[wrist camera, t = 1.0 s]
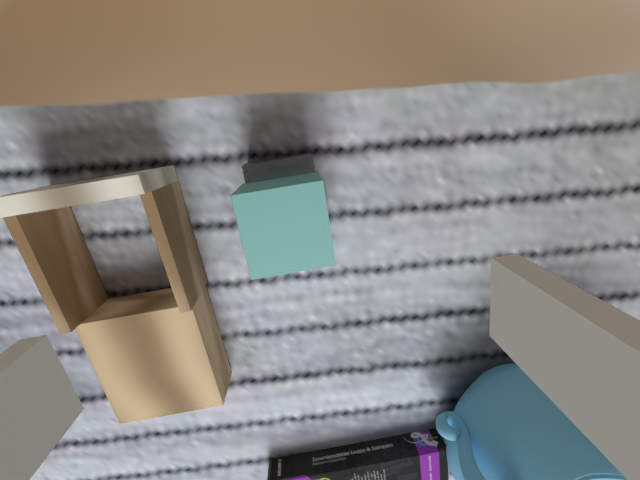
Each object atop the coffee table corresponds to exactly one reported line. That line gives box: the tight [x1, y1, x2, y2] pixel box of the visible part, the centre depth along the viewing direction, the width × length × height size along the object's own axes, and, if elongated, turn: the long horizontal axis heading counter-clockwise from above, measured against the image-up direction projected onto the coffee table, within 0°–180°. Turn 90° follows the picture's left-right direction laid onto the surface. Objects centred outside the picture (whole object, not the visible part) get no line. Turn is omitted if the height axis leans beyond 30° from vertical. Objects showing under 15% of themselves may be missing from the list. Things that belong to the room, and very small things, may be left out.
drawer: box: [0, 165, 232, 424], centre depth 25 cm, size 10×20×6 cm, turn 9°
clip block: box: [231, 172, 336, 280], centre depth 22 cm, size 6×6×4 cm
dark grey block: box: [242, 152, 314, 184], centre depth 25 cm, size 5×8×3 cm, turn 9°
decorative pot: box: [436, 364, 627, 480], centre depth 30 cm, size 16×16×14 cm
